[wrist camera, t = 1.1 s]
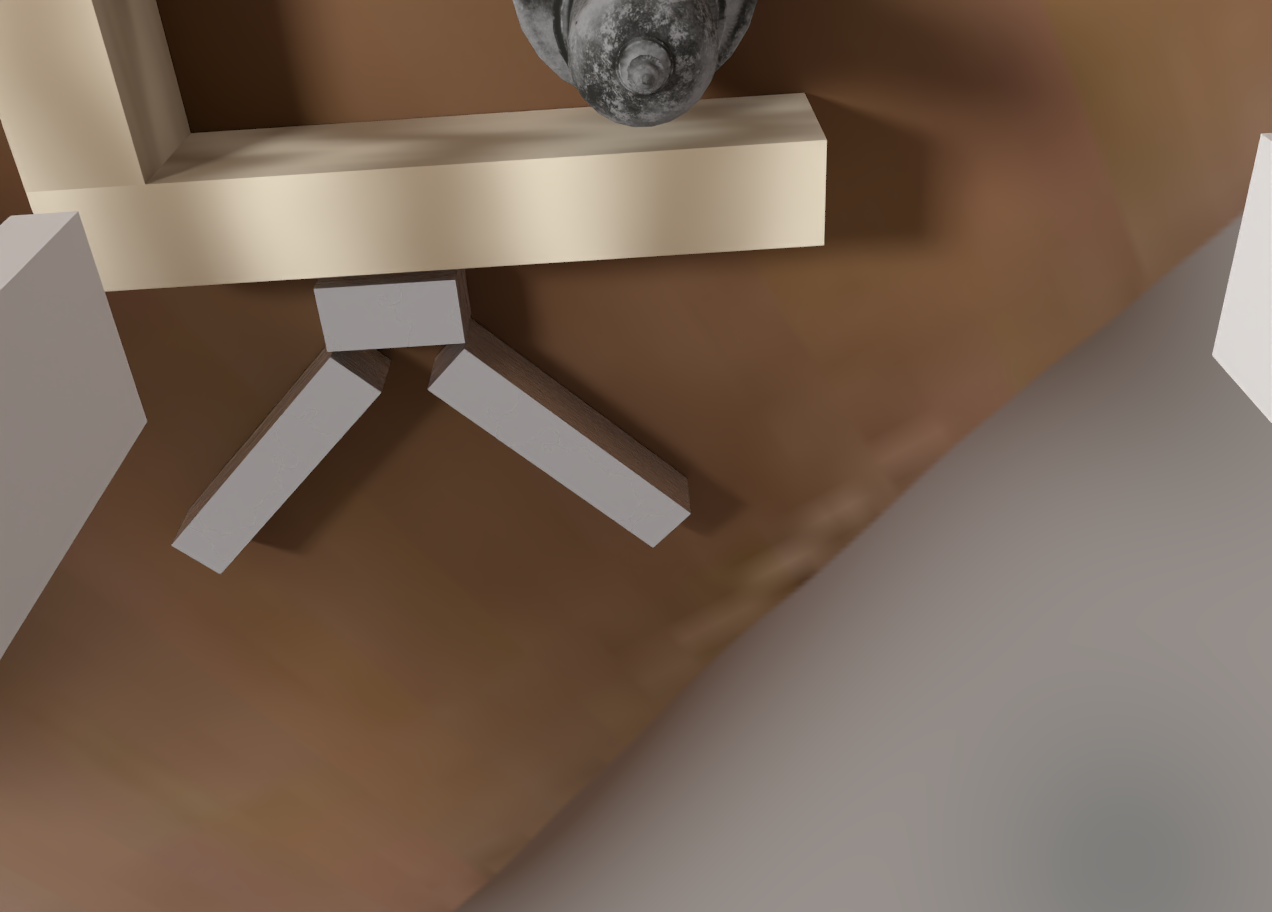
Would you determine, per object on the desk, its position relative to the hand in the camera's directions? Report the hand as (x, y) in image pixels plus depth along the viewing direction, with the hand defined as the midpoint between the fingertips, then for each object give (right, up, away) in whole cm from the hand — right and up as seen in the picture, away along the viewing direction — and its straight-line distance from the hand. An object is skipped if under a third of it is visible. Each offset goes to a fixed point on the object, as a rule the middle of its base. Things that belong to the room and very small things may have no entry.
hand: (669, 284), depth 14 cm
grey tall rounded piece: (0, +11, +18) cm, 21 cm away
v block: (-7, 0, +24) cm, 26 cm away
